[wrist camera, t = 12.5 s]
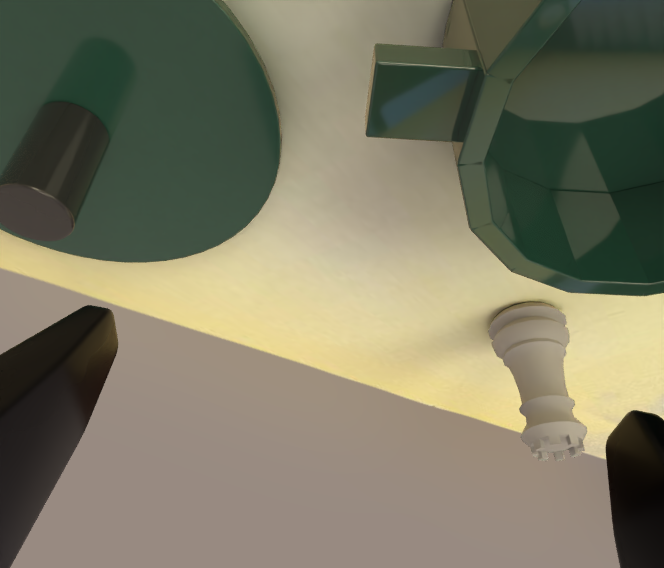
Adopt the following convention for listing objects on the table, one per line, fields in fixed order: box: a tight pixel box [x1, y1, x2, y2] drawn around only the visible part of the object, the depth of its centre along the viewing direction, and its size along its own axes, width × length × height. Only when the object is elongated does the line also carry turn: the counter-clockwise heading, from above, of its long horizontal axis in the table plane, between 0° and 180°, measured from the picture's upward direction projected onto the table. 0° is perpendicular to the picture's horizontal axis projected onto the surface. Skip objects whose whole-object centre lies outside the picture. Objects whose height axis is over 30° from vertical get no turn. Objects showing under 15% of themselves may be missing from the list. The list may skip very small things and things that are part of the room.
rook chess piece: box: [488, 302, 587, 461], centre depth 29 cm, size 4×4×8 cm
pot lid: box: [0, 0, 282, 262], centre depth 19 cm, size 16×16×6 cm
